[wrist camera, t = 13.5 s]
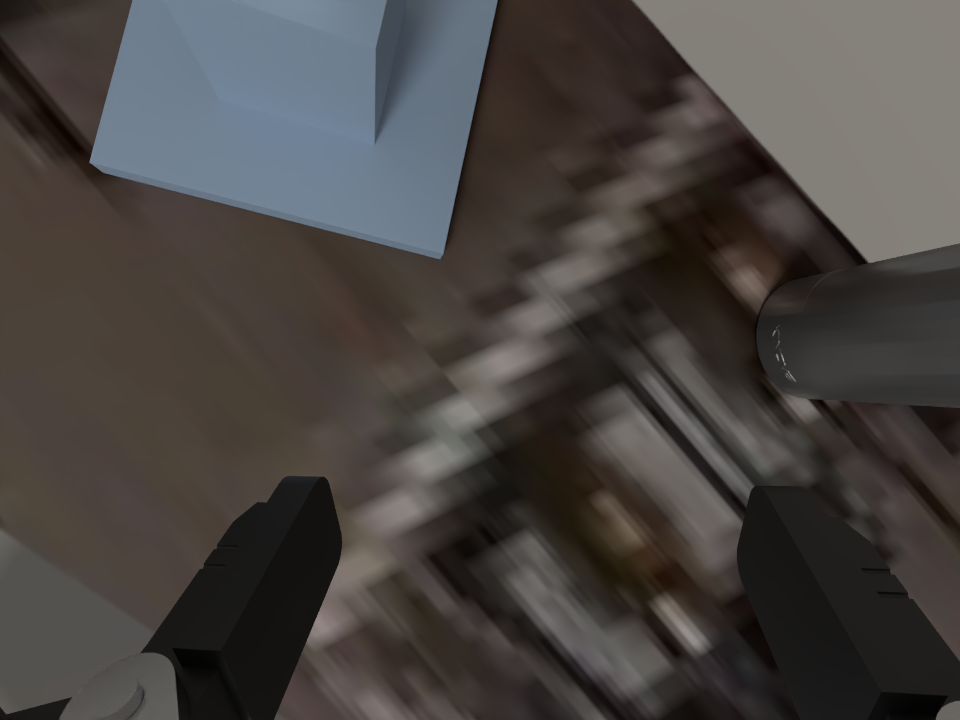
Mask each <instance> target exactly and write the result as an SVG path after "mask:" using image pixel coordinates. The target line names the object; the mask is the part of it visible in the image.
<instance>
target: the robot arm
mask: <svg viewBox="0 0 960 720" xmlns="http://www.w3.org/2000/svg"><path fill="white" fill-rule="evenodd" d="M756 340H757V349H758V354H759V358H760V360H761V363H762V365H763V368H764V370H765V371H766V373H767V374H768V376H769V377H770V379H771V380H772V381H773V382H774V383H775V384H776V385H777V386H778V387H779V388H780V389H782V390H784V391H785V392H787V393H788V394H790V395H793V396H796V397H799V398H808V399H823V400H839V401H852V402H870V403H887V404H904V405H921V406H939V407H956V408H960V244H955V245H951V246H946V247H941V248H937V249H933V250H928V251H924V252H919V253H915V254H909V255H906V256H901V257H896V258H891V259H887V260H882V261H878V262H874V263H869V264H864V265H859V266H855V267H850V268H846V269H840V270H836V271H831V272H827V273H822V274H818V275H813V276H809V277H804V278H800V279H796V280H793V281H790V282H787V283H785V284H784V285H782V286H780V287H779V288H777V289H776V290H775V291H774V292H773V293H772V294H771V295H770V296H769V298H768V300H767V301H766V303H765V304H764V306H763V308H762V311H761V313H760V316H759V319H758V324H757V330H756ZM341 549H342V535H341V530H340V526H339V522H338V518H337V514H336V509H335V505H334V501H333V497H332V493H331V489H330V485H329V482H328V480H327V479H326V478H325V477H303V476H287V477H285V478H283V479H282V480H281V482H280V483H279V485H278V486H277V488H276V489H275V491H274V492H273V494H272V495H271V497H270V498H269V500H268V501H267V503H262V502H257V503H256V504H255V505H253V506H252V507H251V508H250V509H248V510H247V511H246V512H245V513H243V514H242V515H241V516H240V517H239V518H237V519H236V520H235V521H234V522H233V523H232V524H231V526H230V527H229V529H228V530H227V531H226V533H225V534H224V536H223V537H222V539H221V540H220V541H219V543H218V544H217V549H214V550H213V551H212V553H211V554H210V556H209V557H208V559H207V560H206V561H205V563H204V567H203V569H200V570H199V571H198V573H197V574H196V576H195V577H194V578H193V580H192V581H191V583H190V584H189V586H188V587H187V588H186V590H185V591H184V593H183V594H182V596H181V597H180V598H179V600H178V601H177V603H176V604H175V605H174V607H173V608H172V610H171V611H170V613H169V614H168V615H167V617H166V618H165V620H164V621H163V623H162V624H161V625H160V627H159V628H158V630H157V631H156V633H155V634H154V635H153V637H152V638H151V640H150V641H149V643H148V644H147V645H146V647H145V648H144V649H143V651H142V652H141V653H140V654H135V655H132V656H128V657H126V658H123V659H121V660H119V661H116V662H115V663H113V664H111V665H109V666H107V667H106V668H104V669H103V670H101V671H100V672H99V673H97V674H96V675H95V676H93V677H92V678H91V679H89V680H88V681H87V682H86V683H85V684H84V685H83V686H82V687H81V688H80V689H79V690H78V692H77V693H76V694H75V695H74V696H73V697H71V698H67V699H63V700H60V701H56V702H52V703H48V704H45V705H41V706H37V707H34V708H29V709H26V710H22V711H18V712H14V713H11V714H7V715H6V713H5V712H4V711H3V710H2V709H1V707H0V720H274V718H275V716H276V713H277V711H278V708H279V706H280V704H281V701H282V699H283V696H284V694H285V692H286V689H287V687H288V684H289V682H290V680H291V677H292V675H293V672H294V670H295V667H296V665H297V663H298V660H299V658H300V655H301V653H302V651H303V648H304V646H305V643H306V641H307V639H308V636H309V634H310V631H311V629H312V627H313V624H314V622H315V619H316V617H317V615H318V612H319V610H320V607H321V605H322V603H323V600H324V598H325V595H326V593H327V591H328V588H329V586H330V583H331V581H332V579H333V576H334V574H335V571H336V569H337V566H338V564H339V560H340V556H341ZM737 563H738V570H739V574H740V578H741V581H742V584H743V586H744V588H745V591H746V593H747V595H748V598H749V600H750V602H751V605H752V607H753V609H754V612H755V614H756V616H757V619H758V621H759V624H760V626H761V628H762V631H763V633H764V635H765V638H766V640H767V642H768V645H769V647H770V649H771V652H772V654H773V656H774V659H775V661H776V663H777V666H778V668H779V671H780V673H781V675H782V678H783V680H784V682H785V685H786V687H787V689H788V692H789V694H790V696H791V699H792V701H793V703H794V706H795V708H796V710H797V713H798V715H799V717H800V720H960V661H959V660H958V659H957V657H956V656H955V655H954V653H953V652H952V651H951V649H950V648H949V647H948V645H947V644H946V643H945V641H944V640H943V639H942V637H941V636H940V635H939V633H938V632H937V631H936V629H935V628H934V627H933V625H932V624H931V623H930V621H929V620H928V619H927V617H926V616H925V615H924V613H923V612H922V611H921V609H920V608H919V607H918V605H917V604H916V603H915V601H914V600H913V599H909V597H908V592H907V591H906V589H905V588H904V587H903V585H902V584H901V583H900V581H899V580H898V579H897V577H896V576H895V575H891V573H890V568H889V567H888V565H887V564H886V563H885V561H884V560H883V559H882V557H881V556H880V555H879V553H878V552H877V551H876V549H875V548H874V547H873V545H872V544H871V543H870V541H868V540H867V539H866V538H865V537H863V536H862V535H861V534H859V533H858V532H857V531H856V530H854V529H853V528H852V527H850V526H849V525H848V524H847V523H845V522H844V521H843V520H841V519H840V518H835V517H825V516H824V514H823V513H822V511H821V510H820V509H819V507H818V506H817V504H816V503H815V501H814V500H813V498H812V497H811V495H810V494H809V493H808V492H807V490H805V489H804V488H802V487H796V486H755V487H753V489H752V490H751V493H750V496H749V500H748V504H747V508H746V513H745V517H744V521H743V525H742V529H741V534H740V538H739V542H738V547H737Z"/></svg>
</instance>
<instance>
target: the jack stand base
mask: <svg viewBox="0 0 960 720" xmlns="http://www.w3.org/2000/svg"><path fill="white" fill-rule="evenodd" d="M497 1H498V0H133V1H132V5H131V9H130V12H129V16H128V20H127V24H126V27H125V31H124V35H123V39H122V42H121V46H120V50H119V54H118V57H117V61H116V65H115V69H114V72H113V76H112V80H111V84H110V87H109V91H108V95H107V99H106V102H105V106H104V110H103V114H102V117H101V121H100V125H99V129H98V132H97V136H96V140H95V143H94V147H93V151H92V155H91V158H90V163H91V164H92V165H94V166H95V167H96V168H98V169H99V170H100V171H102V172H103V173H106V174H110V175H114V176H118V177H122V178H126V179H130V180H134V181H137V182H141V183H145V184H149V185H153V186H157V187H161V188H165V189H169V190H173V191H176V192H180V193H184V194H188V195H192V196H196V197H200V198H204V199H208V200H211V201H215V202H219V203H223V204H227V205H231V206H235V207H239V208H243V209H246V210H250V211H254V212H258V213H262V214H266V215H270V216H274V217H278V218H281V219H285V220H289V221H293V222H297V223H301V224H305V225H309V226H313V227H317V228H320V229H324V230H328V231H332V232H336V233H340V234H344V235H348V236H352V237H355V238H359V239H363V240H367V241H371V242H375V243H379V244H383V245H387V246H390V247H394V248H398V249H402V250H406V251H410V252H414V253H418V254H422V255H425V256H429V257H433V258H437V259H441V257H442V255H443V253H444V248H445V243H446V239H447V234H448V229H449V225H450V220H451V215H452V211H453V206H454V201H455V197H456V192H457V187H458V183H459V178H460V173H461V169H462V164H463V159H464V155H465V150H466V145H467V141H468V136H469V131H470V127H471V122H472V117H473V113H474V108H475V103H476V99H477V94H478V89H479V85H480V80H481V75H482V71H483V66H484V61H485V57H486V52H487V47H488V43H489V38H490V33H491V29H492V24H493V19H494V15H495V10H496V5H497Z"/></svg>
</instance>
